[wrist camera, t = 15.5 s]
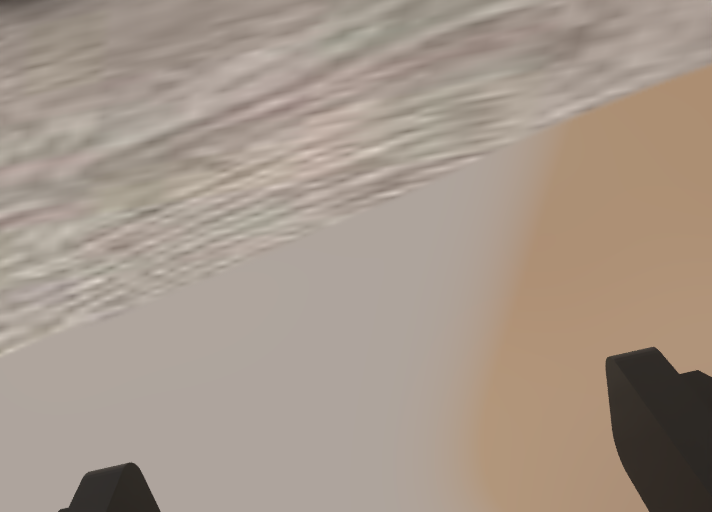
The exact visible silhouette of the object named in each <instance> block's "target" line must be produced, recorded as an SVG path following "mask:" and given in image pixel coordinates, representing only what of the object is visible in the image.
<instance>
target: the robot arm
mask: <svg viewBox="0 0 712 512" xmlns="http://www.w3.org/2000/svg"><path fill="white" fill-rule="evenodd" d="M606 376H607V386H608V395H609V405H610V413H611V423H612V431H613V437H614V442H615V445H616V448H617V452H618V455H619V457H620V460H621V462H622V465H623V467H624V469H625V471H626V472H627V474H628V476H629V478H630V479H631V481H632V483H633V484H634V486H635V488H636V490H637V491H638V493H639V494H640V496H641V498H642V500H643V502H644V503H645V505H646V507H647V508H648V510H649V512H712V377H710V376H708V375H706V374H704V373H702V372H701V371H699V370H696V371H692V372H687V373H683V374H679V373H678V372H677V371H676V370H675V369H674V367H673V366H672V365H671V364H670V363H669V362H668V360H666V358H665V357H664V356H663V355H662V353H661V352H660V351H659V350H658V349H656V348H655V347H650V348H646V349H642V350H637V351H632V352H628V353H623V354H619V355H614V356H610V357H607V359H606ZM58 512H160V509H159V507H158V505H157V503H156V501H155V499H154V497H153V495H152V493H151V491H150V489H149V487H148V485H147V482H146V480H145V478H144V476H143V474H142V472H141V470H140V469H139V467H138V466H137V465H136V464H134V463H126V464H122V465H118V466H113V467H108V468H104V469H100V470H95V471H91V472H88V473H86V474H85V476H84V477H83V479H82V480H81V483H80V485H79V487H78V489H77V491H76V493H75V495H74V497H73V500H72V502H71V504H70V506H69V508H65V509H60V510H59V511H58Z"/></svg>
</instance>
